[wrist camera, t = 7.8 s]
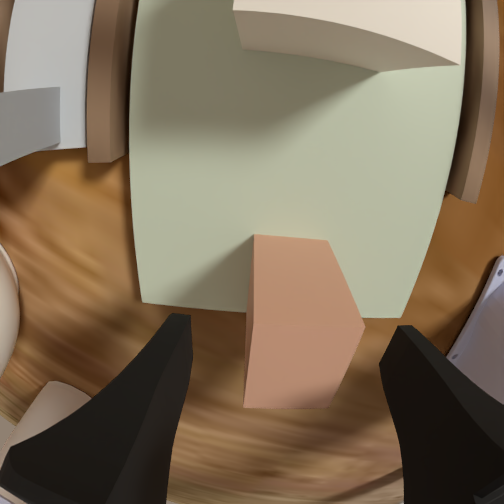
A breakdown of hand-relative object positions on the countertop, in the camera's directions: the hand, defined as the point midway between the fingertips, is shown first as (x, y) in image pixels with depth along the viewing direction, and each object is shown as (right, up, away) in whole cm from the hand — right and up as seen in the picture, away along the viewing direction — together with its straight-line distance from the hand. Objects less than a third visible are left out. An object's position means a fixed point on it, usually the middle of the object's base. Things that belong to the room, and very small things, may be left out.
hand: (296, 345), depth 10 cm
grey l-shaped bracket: (-10, +13, -2) cm, 17 cm away
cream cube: (+1, +12, -2) cm, 12 cm away
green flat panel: (+1, +10, 0) cm, 10 cm away
